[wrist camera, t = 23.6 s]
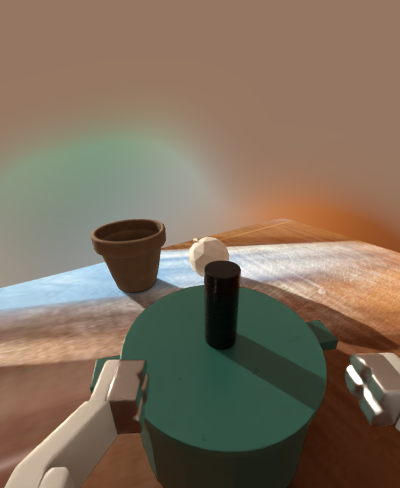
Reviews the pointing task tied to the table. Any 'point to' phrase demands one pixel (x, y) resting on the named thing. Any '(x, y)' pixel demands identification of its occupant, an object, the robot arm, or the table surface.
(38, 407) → the table surface
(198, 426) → the lid
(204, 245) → the ornament
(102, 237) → the flower pot
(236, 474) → the pot
